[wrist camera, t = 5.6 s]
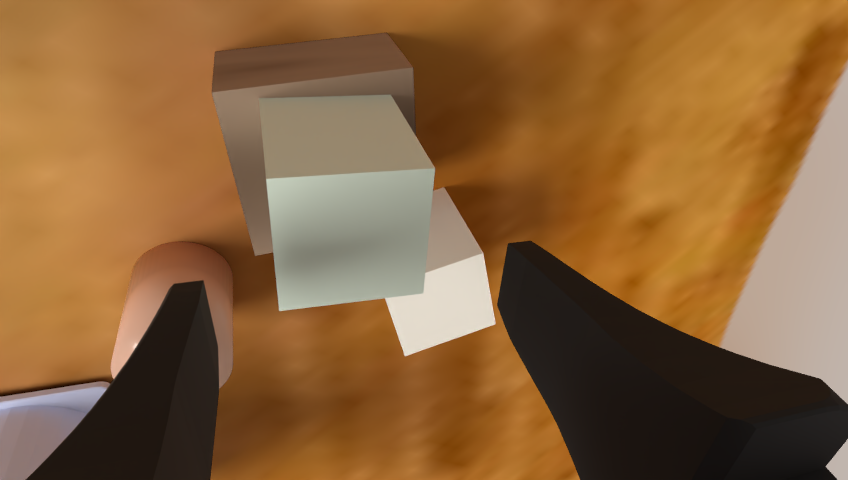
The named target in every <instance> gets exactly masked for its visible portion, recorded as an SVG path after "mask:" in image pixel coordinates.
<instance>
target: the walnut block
mask: <svg viewBox="0 0 848 480" xmlns="http://www.w3.org/2000/svg"><path fill="white" fill-rule="evenodd" d="M360 95H391V96H392V98H393V99H394V101H395V103H396V104H397V106H398V107H399V109H400V111H401V112H402V114H403V116H404V117H405V119H406V121H407V122H408V124H409V126H410V127H411V129H412V131H413V132H414V134H415V136H416V125H415V100H414V76H413V67H412V65H411V64H410V63H409V61H408V60H407V59H406V57H405V56H404V55H403V53H402V52H401V51H400V49H399V48H398V47H397V45H396V44H395V43H394V41H393V40H392V39H391V37H390V36H389V35H388V33H380V34H371V35H362V36H353V37H344V38H335V39H326V40H317V41H308V42H299V43H290V44H281V45H272V46H262V47H253V48H244V49H235V50H226V51H217V52H215V57H214V69H213V81H212V96H213V100H214V103H215V107H216V111H217V115H218V118H219V122H220V126H221V130H222V133H223V137H224V141H225V145H226V148H227V152H228V156H229V160H230V163H231V167H232V171H233V175H234V178H235V182H236V186H237V190H238V194H239V197H240V201H241V205H242V209H243V212H244V216H245V220H246V224H247V227H248V231H249V235H250V239H251V242H252V246H253V250H254V254H255V256H257V255H262V254H268V253H273V243H272V233H271V223H270V213H269V203H268V193H267V183H266V172H265V161H264V150H263V139H262V128H261V117H260V105H259V98H287V97H324V96H360Z"/></svg>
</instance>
